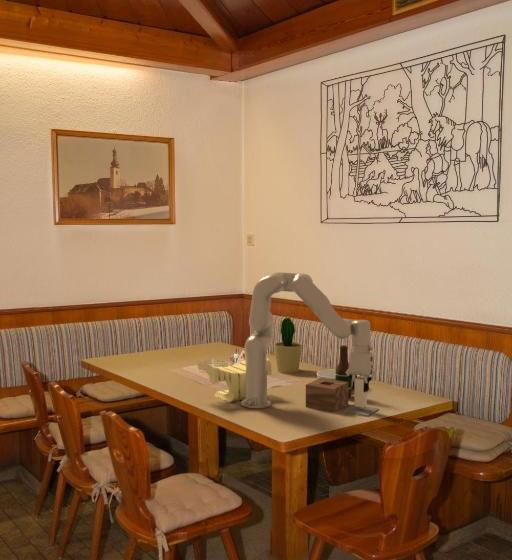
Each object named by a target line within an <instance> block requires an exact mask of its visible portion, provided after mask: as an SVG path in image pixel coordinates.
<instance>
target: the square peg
mask: <svg viewBox="0 0 512 560" xmlns="http://www.w3.org/2000/svg"><path fill="white" fill-rule="evenodd" d="M364 383H365V380H364V376H359V377H357V378H355V391H354V405H355V406H356V407H365V406H366V407H368V391H367V392H364Z"/></svg>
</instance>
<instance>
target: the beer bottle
mask: <svg viewBox="0 0 512 560" xmlns="http://www.w3.org/2000/svg"><path fill="white" fill-rule="evenodd" d="M339 349H340V351H339V363H338V364H337V366H336V368H335V369H336V372H335V380H337V381H344V382H348V399H351V397H352V390H353V386H352V379H351V378H350V377H349V376H348V375H347V374H346V371H347V369H348V368H349V356H348V349H349V348H348V345H345V344H344V345H340V346H339Z"/></svg>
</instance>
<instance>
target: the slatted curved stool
mask: <svg viewBox="0 0 512 560" xmlns="http://www.w3.org/2000/svg"><path fill="white" fill-rule="evenodd" d="M266 358H267V376H272V363H271V360H270V359H269V358H268V357H266ZM197 367H198V368H200V369H202V370H203V371H205V373H206V374H207V375H208V378H209V380H210V381H209V382H210V383H212V384H215V385H216V384H218V383H219V382H226V383H225V384H226V386H227V387H228V389H225V390H219V391H218V390H217V391H216V392H215V394H214V397H215V398H218V397H219V398H218V399H220V398H221V399H220V400H222V399H223V400H222V401H224V400H226V401H228V402H227V403H231V402H237V400H238V401H243V400H245V396H246V362H245V360H242V361H240V362H238V363H235V364H232V365H231V366H230V365H229V366H223V367H222V366H213V365H210V364H207V363H205V362H202V361H199V360H197ZM226 401H225V402H226Z"/></svg>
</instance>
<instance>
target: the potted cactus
mask: <svg viewBox="0 0 512 560" xmlns="http://www.w3.org/2000/svg"><path fill="white" fill-rule="evenodd" d="M280 320H281V319H280ZM293 321H294V320H292V319H291V317H284V318H283V319H282V320H281V321H280V325H279V326H280V327H279V329H280V330H279V335H280V336H281V337H280V340H281V341H279V342H275V343H274V344H273V346H274V353H275V361H276V368H277V372H278V373H281V374H296V373H298V372H299V370H300V362H301V356H302V349H303V343H301V342H298V341H297V342H296V341H294V336H295V334H296V332H297V327H296V326H295V323H294V322H293Z"/></svg>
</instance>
